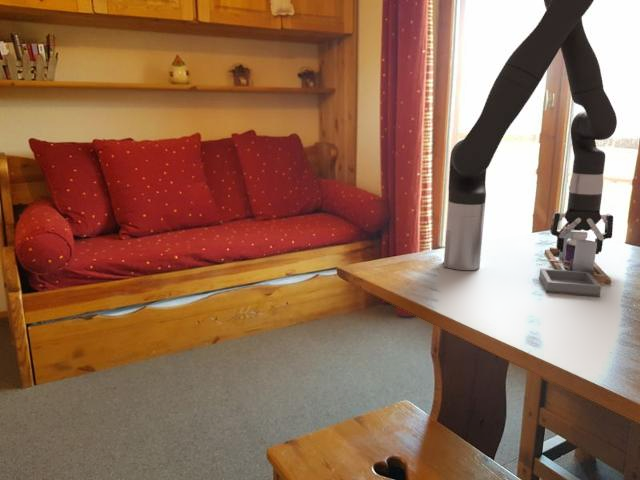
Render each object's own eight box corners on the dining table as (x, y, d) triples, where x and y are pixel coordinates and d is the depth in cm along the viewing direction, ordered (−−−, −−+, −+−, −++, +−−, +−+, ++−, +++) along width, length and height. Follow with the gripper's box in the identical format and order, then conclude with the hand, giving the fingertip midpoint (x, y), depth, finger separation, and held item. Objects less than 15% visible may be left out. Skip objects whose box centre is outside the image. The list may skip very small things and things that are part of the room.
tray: (546, 292, 117) (547, 282, 116) (539, 278, 127) (540, 268, 126) (599, 297, 114) (601, 286, 113) (587, 282, 124) (589, 272, 124)
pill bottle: (588, 271, 133) (593, 234, 131) (566, 269, 134) (570, 233, 132) (582, 265, 138) (587, 230, 136) (560, 264, 139) (565, 229, 137)
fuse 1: (560, 260, 143) (564, 228, 140) (557, 256, 147) (561, 225, 145) (578, 261, 142) (582, 230, 139) (574, 257, 146) (579, 226, 144)
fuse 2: (573, 279, 127) (578, 243, 124) (569, 273, 131) (574, 239, 129) (594, 280, 125) (599, 244, 123) (589, 275, 130) (594, 240, 128)
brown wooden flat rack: (557, 280, 125) (559, 268, 125) (541, 253, 150) (542, 243, 149) (610, 284, 123) (612, 272, 122) (585, 256, 147) (586, 246, 146)
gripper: (557, 192, 129) (551, 254, 133) (620, 194, 126) (612, 258, 130) (552, 188, 136) (546, 247, 140) (612, 190, 133) (604, 250, 137)
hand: (578, 252), depth 135 cm, fingers open, 8 cm apart
